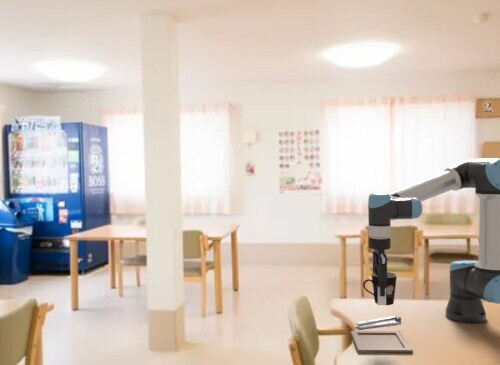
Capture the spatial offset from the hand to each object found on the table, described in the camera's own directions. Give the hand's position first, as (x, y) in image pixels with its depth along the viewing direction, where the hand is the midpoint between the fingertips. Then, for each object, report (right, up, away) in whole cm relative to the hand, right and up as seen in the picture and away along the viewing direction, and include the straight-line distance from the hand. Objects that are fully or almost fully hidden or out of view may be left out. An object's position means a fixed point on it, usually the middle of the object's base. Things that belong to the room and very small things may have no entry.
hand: (379, 301), depth 169 cm
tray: (0, -15, +1) cm, 15 cm away
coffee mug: (0, 0, 0) cm, 0 cm away
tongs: (+5, -14, +19) cm, 24 cm away
